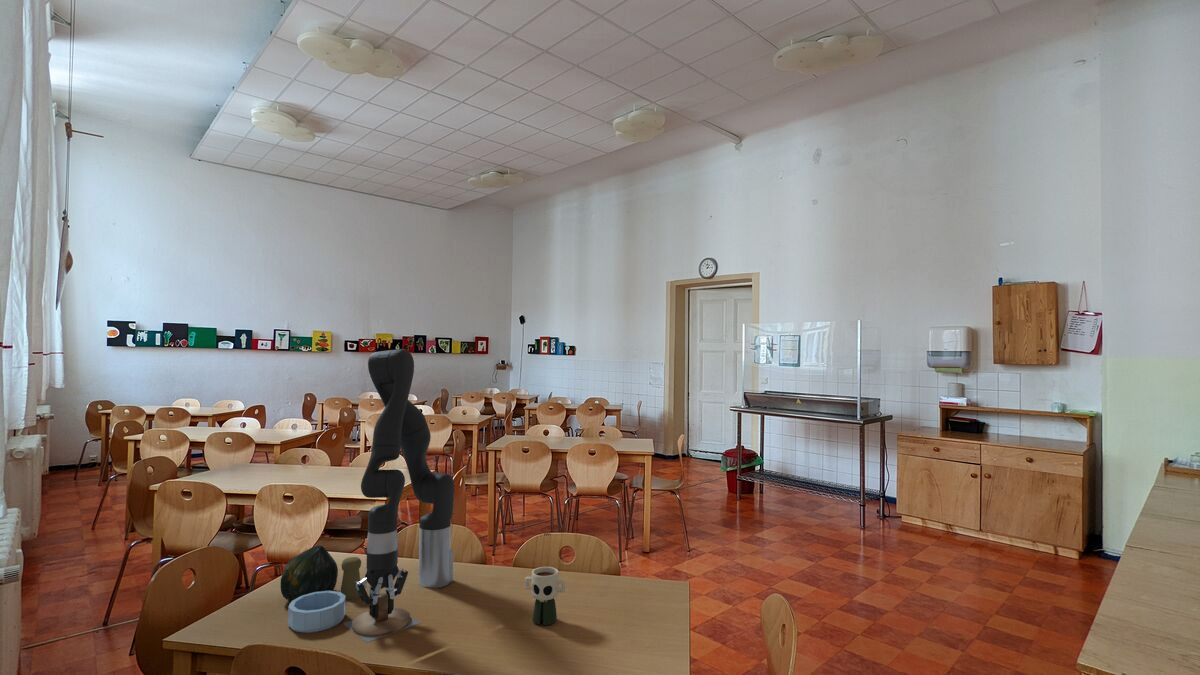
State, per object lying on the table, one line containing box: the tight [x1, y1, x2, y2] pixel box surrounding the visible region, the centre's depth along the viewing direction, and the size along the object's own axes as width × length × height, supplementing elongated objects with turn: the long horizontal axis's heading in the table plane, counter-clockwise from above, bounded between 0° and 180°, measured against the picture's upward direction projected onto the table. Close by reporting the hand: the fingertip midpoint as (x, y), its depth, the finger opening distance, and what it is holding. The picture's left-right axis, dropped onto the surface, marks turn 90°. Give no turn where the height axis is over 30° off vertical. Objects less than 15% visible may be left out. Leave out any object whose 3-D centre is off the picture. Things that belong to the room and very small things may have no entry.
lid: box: [352, 592, 411, 636], centre depth 152 cm, size 14×14×7 cm
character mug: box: [524, 566, 566, 626], centre depth 155 cm, size 11×7×13 cm, turn 79°
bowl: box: [287, 590, 347, 634], centre depth 153 cm, size 13×13×6 cm
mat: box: [342, 606, 421, 643], centre depth 152 cm, size 14×14×1 cm
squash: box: [280, 544, 339, 601], centre depth 170 cm, size 14×15×15 cm
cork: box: [340, 556, 362, 600], centre depth 169 cm, size 6×6×11 cm
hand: (381, 615), depth 152 cm, fingers closed on lid, 3 cm apart
